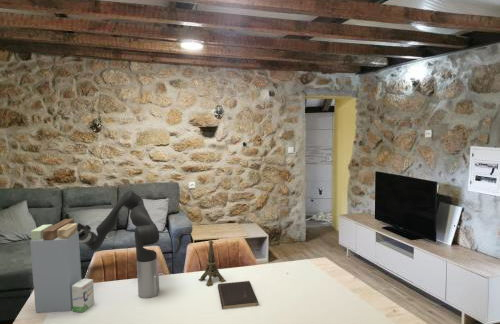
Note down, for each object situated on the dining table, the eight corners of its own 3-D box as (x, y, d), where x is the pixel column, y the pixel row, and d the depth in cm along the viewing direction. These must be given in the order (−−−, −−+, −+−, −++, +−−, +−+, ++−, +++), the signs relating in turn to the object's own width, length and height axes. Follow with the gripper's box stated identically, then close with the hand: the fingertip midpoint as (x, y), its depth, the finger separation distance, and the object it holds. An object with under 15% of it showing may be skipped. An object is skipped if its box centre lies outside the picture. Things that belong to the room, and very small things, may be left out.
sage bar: (52, 232, 169) (52, 224, 169) (41, 240, 158) (40, 230, 158) (44, 233, 169) (43, 224, 169) (31, 240, 158) (30, 231, 158)
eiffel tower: (215, 275, 197) (214, 229, 195) (226, 281, 189) (224, 233, 186) (198, 280, 191) (196, 233, 189) (208, 286, 183) (206, 237, 180)
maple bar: (77, 231, 170) (76, 223, 169) (67, 238, 159) (66, 229, 159) (68, 232, 170) (68, 223, 169) (57, 239, 159) (57, 230, 158)
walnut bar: (74, 226, 179) (73, 218, 179) (53, 240, 158) (52, 231, 157) (65, 227, 179) (65, 218, 179) (43, 240, 157) (42, 231, 157)
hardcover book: (249, 285, 184) (249, 280, 184) (258, 306, 162) (258, 301, 162) (217, 288, 182) (217, 283, 182) (222, 310, 159) (221, 305, 159)
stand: (82, 297, 174) (78, 231, 171) (71, 311, 161) (66, 239, 158) (50, 299, 173) (45, 232, 170) (35, 312, 160) (30, 241, 157)
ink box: (85, 302, 168) (83, 277, 167) (95, 303, 167) (93, 278, 166) (72, 312, 160) (70, 285, 159) (82, 313, 159) (81, 286, 158)
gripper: (68, 227, 194) (55, 218, 180) (96, 226, 195) (85, 217, 181) (66, 241, 191) (52, 233, 176) (94, 240, 192) (83, 232, 177)
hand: (69, 225), depth 178 cm, fingers open, 8 cm apart
